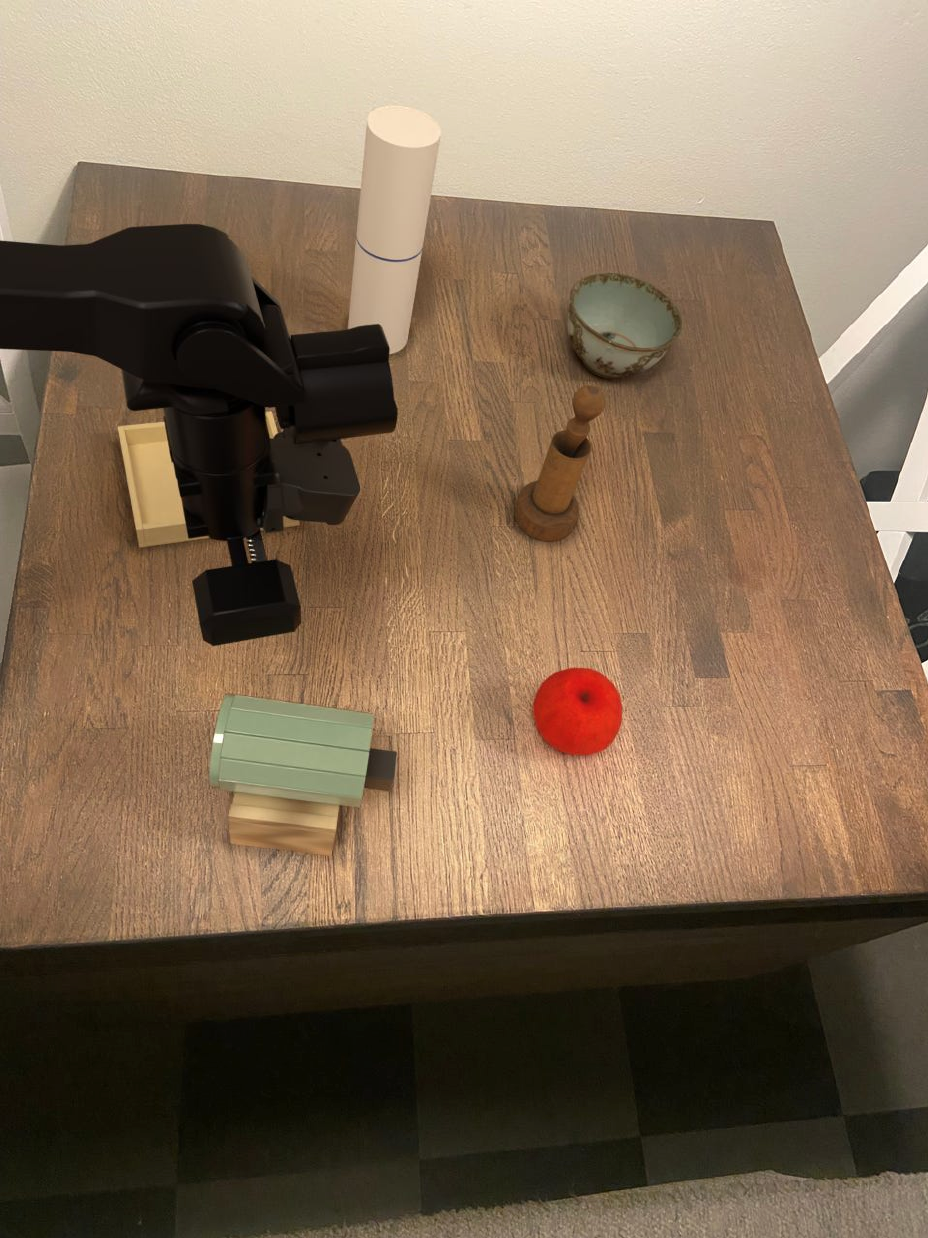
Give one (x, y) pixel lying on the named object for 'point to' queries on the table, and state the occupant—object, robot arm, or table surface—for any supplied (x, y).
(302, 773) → the grooved sage-green cylinder
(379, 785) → the black block
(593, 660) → the table surface
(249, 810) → the wooden block
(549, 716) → the apple
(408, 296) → the cylindrical container
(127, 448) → the tray
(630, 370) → the bowl
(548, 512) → the mortar and pestle
